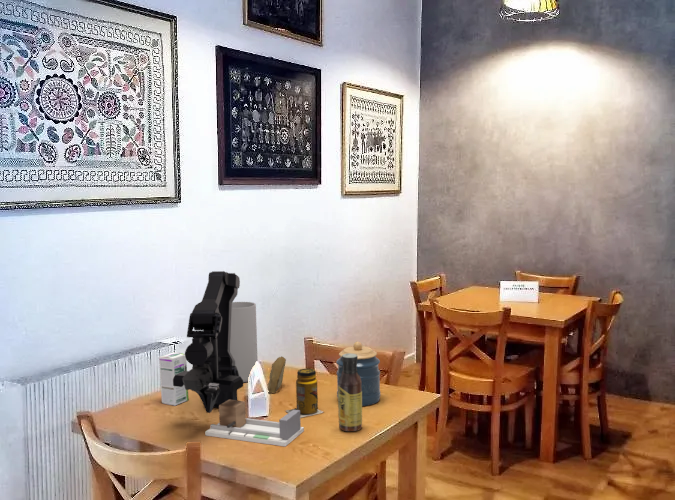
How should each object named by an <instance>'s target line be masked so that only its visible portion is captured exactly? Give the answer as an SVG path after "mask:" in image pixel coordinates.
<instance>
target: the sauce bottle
mask: <svg viewBox="0 0 675 500" xmlns="http://www.w3.org/2000/svg"><path fill="white" fill-rule="evenodd" d="M357 360H358V357H357V355H356V354H352V353H348V354H344V355H342V361H343V371H342V374H341V377H340V380H339V383H338V388H337V391H338V397H337V400H338V403H337V405H338V406H337V407H338V411H337V412H338V427H339V429H340V430H342V431H343V432H357V431H360V430H361V429H362V426H363V406H362V389H361V378H360V376H359V375H358V373H357Z"/></svg>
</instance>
